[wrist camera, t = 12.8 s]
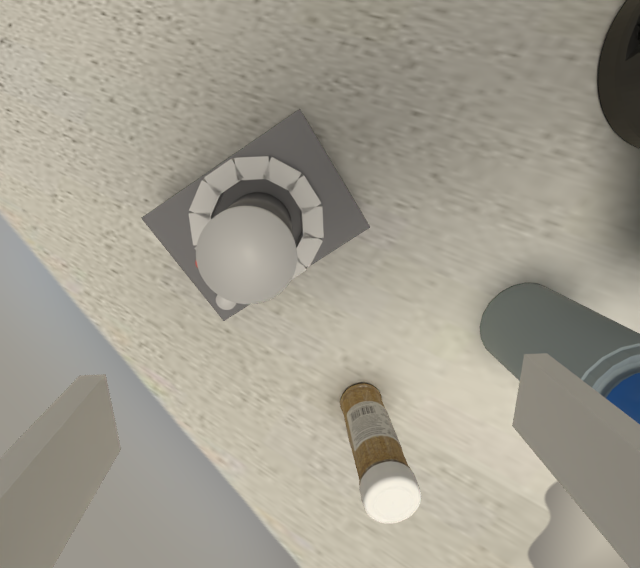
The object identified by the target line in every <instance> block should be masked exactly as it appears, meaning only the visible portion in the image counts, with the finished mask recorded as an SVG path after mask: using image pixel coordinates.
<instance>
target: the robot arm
mask: <svg viewBox="0 0 640 568" xmlns="http://www.w3.org/2000/svg"><path fill="white" fill-rule="evenodd" d="M598 81H599V95H600V100H601V105H602V108H603V111H604V114H605V116H606V118H607V120H608V122H609V124H610V125H611V127H612V128H613V129H614V131H615V132H616V133H617V134H618V135H619V136H620V137H621V138H622V139H624V140H625V141H626V142H628V143H629V144H631V145H633V146H635V147H638V148H640V0H627V1H626V3H625V4H624V5H623V7H622V8H621V10H620V11H619V13H618V15H617V16H616V18H615V20H614V22H613V24H612V26H611V28H610V30H609V33H608V35H607V38H606V40H605V44H604V47H603V50H602V54H601V59H600V66H599V77H598ZM512 426H513V427H514V428H515V430H516V431H517V432H518V433H519V434H520V436H521V437H522V438H523V439H524V440H525V442H526V443H527V444H528V445H529V447H530V448H531V449H532V450H533V451H534V453H535V454H536V455H537V456H538V457H539V459H540V460H541V461H542V462H543V463H544V465H545V466H546V467H547V468H548V470H549V471H550V472H551V473H552V474H553V476H554V477H555V478H556V479H557V480H558V482H559V483H560V484H561V485H562V486H563V488H564V489H565V490H566V491H567V493H568V494H569V495H570V496H571V497H572V499H573V500H574V501H575V502H576V503H577V505H578V506H579V507H580V508H581V509H582V511H583V512H584V513H585V514H586V516H587V517H588V518H589V519H590V520H591V522H592V523H593V524H594V525H595V526H596V528H597V529H598V530H599V531H600V533H601V534H602V535H603V536H604V537H605V539H606V540H607V541H608V542H609V543H610V544H611V546H612V547H613V548H614V550H615V551H616V552H617V553H618V554H619V556H620V557H621V558H622V559H623V560H624V562H625V563H626V564H627V565H628V566H629V568H640V424H639V423H637V422H636V421H635V420H633V419H632V418H631V417H629V416H628V415H627V414H626V413H624V412H623V411H622V410H620V409H619V408H618V407H616V406H615V405H614V404H612V403H611V402H610V401H609V400H607V399H606V398H605V397H603V396H602V395H601V394H599V393H598V392H597V391H596V390H594V389H593V388H592V387H590V386H589V385H588V384H586V383H585V382H584V381H582V380H581V379H580V378H579V377H577V376H576V375H575V374H573V373H572V372H571V371H569V370H568V369H567V368H565V367H564V366H563V365H562V364H560V363H559V362H558V361H556V360H555V359H554V358H552V357H551V356H550V355H549V354H547V353H541V354H524V358H523V364H522V370H521V376H520V383H519V389H518V395H517V401H516V407H515V413H514V419H513V425H512ZM120 450H121V447H120V442H119V437H118V432H117V428H116V423H115V418H114V413H113V408H112V403H111V398H110V393H109V389H108V384H107V379H106V375H84V376H79V377H78V378H77V379H76V380H75V381H74V382H73V383H72V384H71V385H70V386H69V387H68V388H67V389H66V390H65V391H64V392H63V393H62V394H61V395H60V397H58V399H57V400H55V402H54V403H53V404H52V405H51V406H50V407H49V408H48V409H47V410H46V411H45V412H44V413H43V414H42V415H41V416H40V417H39V418H38V419H37V420H36V421H35V422H34V423H33V425H31V426H30V427H29V429H28V430H27V431H26V432H25V433H24V434H23V435H22V436H21V437H20V438H19V439H18V440H17V441H16V442H15V443H14V444H13V445H12V446H11V447H10V448H9V449H8V450H7V451H6V452H5V453H4V455H3V456H2V457H1V458H0V568H53V566H54V564H55V563H56V561H57V559H58V558H59V556H60V554H61V552H62V551H63V549H64V547H65V545H66V544H67V542H68V540H69V539H70V537H71V535H72V533H73V532H74V530H75V528H76V526H77V525H78V523H79V521H80V519H81V518H82V516H83V514H84V513H85V511H86V509H87V507H88V506H89V504H90V502H91V500H92V499H93V497H94V495H95V493H96V492H97V490H98V488H99V487H100V485H101V483H102V481H103V480H104V478H105V476H106V474H107V473H108V471H109V469H110V468H111V466H112V464H113V462H114V461H115V459H116V457H117V455H118V454H119V452H120Z"/></svg>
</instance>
